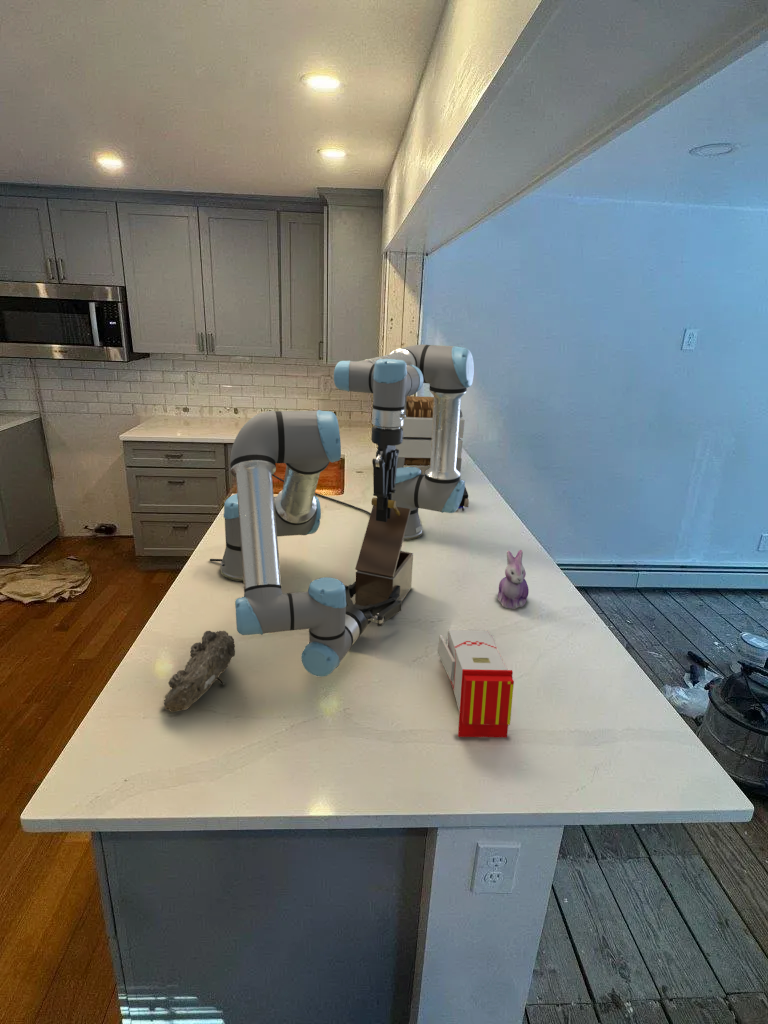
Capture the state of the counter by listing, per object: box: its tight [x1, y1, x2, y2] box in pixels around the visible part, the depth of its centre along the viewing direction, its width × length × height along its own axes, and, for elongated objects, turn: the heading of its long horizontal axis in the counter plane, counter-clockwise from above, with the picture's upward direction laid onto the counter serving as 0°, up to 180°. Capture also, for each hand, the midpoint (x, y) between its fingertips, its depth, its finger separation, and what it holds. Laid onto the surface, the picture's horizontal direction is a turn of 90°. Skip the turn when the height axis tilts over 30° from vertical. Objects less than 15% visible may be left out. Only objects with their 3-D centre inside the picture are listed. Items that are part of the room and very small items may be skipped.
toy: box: [437, 628, 515, 738], centre depth 117 cm, size 12×13×30 cm
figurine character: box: [455, 486, 470, 512], centre depth 229 cm, size 7×8×15 cm
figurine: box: [497, 549, 530, 610], centre depth 154 cm, size 9×10×15 cm
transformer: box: [395, 395, 465, 475], centre depth 268 cm, size 34×33×41 cm
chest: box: [354, 550, 414, 606], centre depth 153 cm, size 18×10×11 cm, turn 160°
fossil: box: [163, 630, 236, 713], centre depth 116 cm, size 22×10×15 cm
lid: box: [354, 496, 411, 578], centre depth 142 cm, size 18×10×9 cm
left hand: (378, 586), depth 148 cm, fingers closed on chest, 10 cm apart
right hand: (383, 518), depth 143 cm, fingers closed on lid, 2 cm apart
